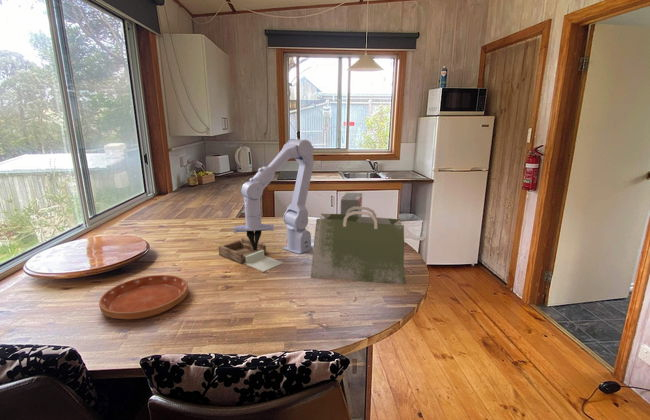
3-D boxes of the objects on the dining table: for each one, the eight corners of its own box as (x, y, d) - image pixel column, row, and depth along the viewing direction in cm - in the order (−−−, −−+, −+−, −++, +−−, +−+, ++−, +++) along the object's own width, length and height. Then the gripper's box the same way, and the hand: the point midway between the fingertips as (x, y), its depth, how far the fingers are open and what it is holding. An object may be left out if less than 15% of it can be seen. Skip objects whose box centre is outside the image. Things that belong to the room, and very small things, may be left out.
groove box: (266, 254, 135) (265, 245, 134) (241, 264, 126) (240, 254, 125) (243, 246, 143) (243, 237, 142) (219, 255, 134) (218, 246, 133)
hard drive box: (357, 247, 141) (358, 200, 136) (339, 246, 143) (339, 199, 138) (361, 235, 156) (362, 192, 151) (345, 234, 158) (345, 191, 152)
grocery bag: (403, 266, 123) (407, 204, 117) (406, 284, 109) (410, 215, 103) (316, 261, 128) (315, 201, 122) (309, 278, 114) (307, 211, 108)
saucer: (166, 277, 116) (165, 267, 115) (203, 299, 102) (202, 288, 101) (89, 305, 99) (86, 294, 98) (120, 336, 85) (118, 323, 84)
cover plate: (283, 264, 126) (282, 256, 126) (263, 273, 119) (263, 264, 119) (263, 257, 133) (263, 249, 132) (244, 264, 126) (243, 256, 125)
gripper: (273, 211, 130) (274, 244, 133) (234, 212, 128) (236, 246, 131) (273, 216, 123) (274, 251, 126) (231, 217, 121) (234, 253, 124)
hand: (255, 249), depth 128 cm, fingers closed
